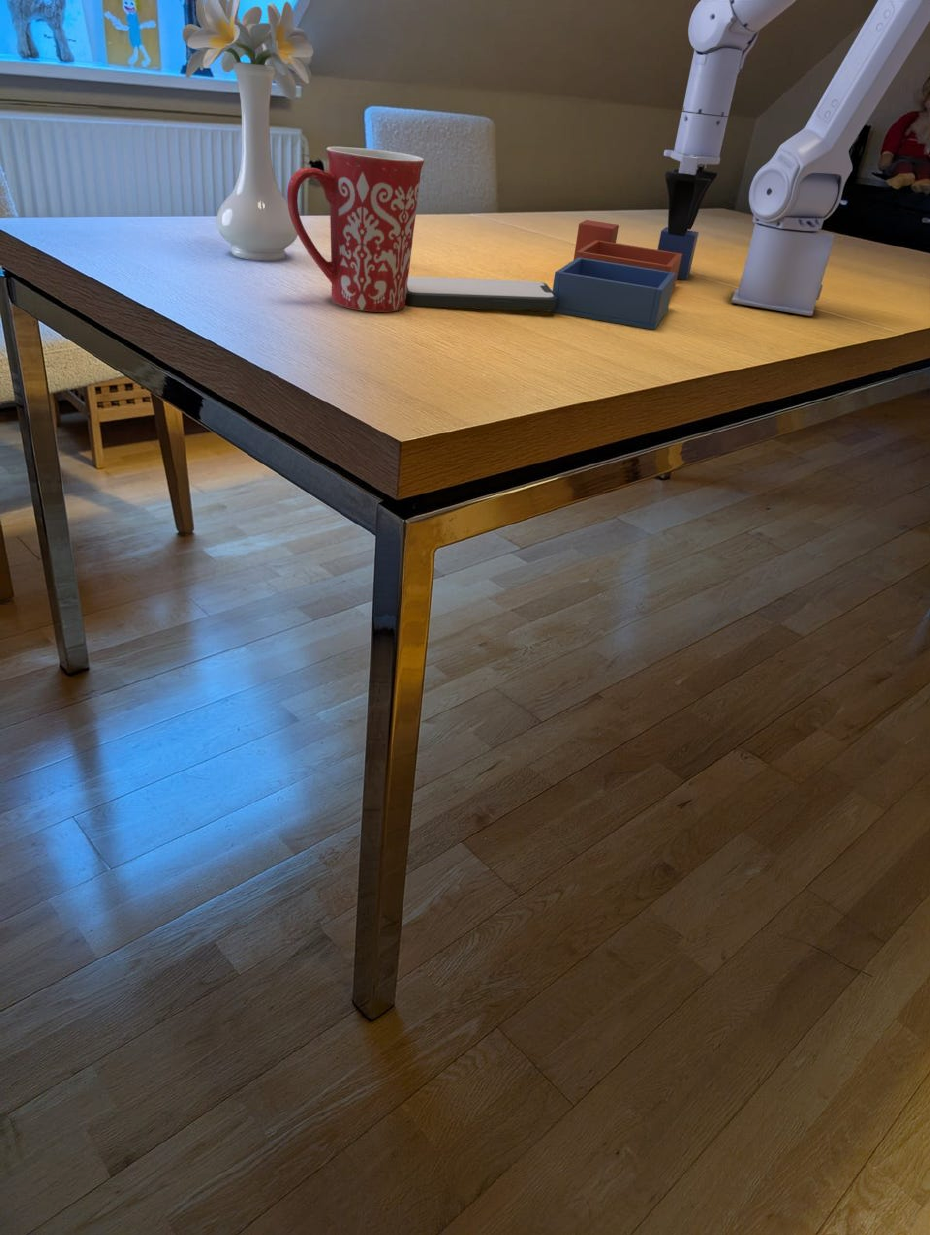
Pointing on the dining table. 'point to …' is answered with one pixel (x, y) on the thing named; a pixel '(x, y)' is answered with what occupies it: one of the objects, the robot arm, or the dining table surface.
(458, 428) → the dining table surface
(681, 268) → the blue block
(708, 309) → the dining table surface
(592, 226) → the terracotta block
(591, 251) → the terracotta bin
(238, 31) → the flower vase
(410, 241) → the mug
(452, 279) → the phone case
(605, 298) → the blue bin
